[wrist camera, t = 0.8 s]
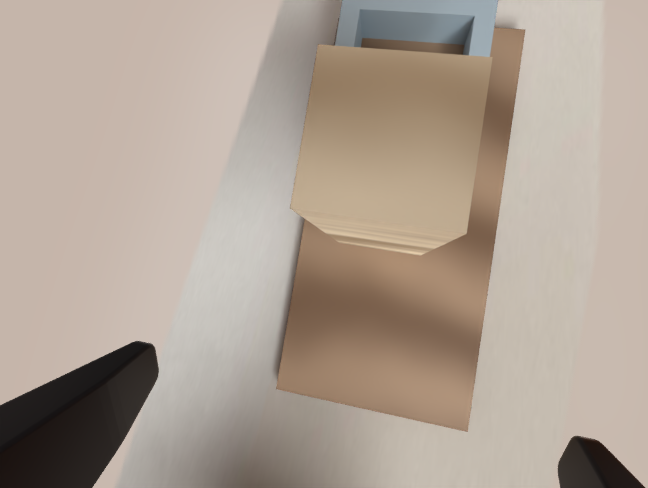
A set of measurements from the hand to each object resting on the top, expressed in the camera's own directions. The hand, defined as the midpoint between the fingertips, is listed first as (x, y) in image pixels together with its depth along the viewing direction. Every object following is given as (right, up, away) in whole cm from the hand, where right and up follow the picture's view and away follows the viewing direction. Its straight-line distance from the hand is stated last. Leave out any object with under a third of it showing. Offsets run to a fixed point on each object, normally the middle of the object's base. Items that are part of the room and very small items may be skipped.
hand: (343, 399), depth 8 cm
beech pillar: (+3, +5, +13) cm, 15 cm away
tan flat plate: (+4, +5, +14) cm, 16 cm away
